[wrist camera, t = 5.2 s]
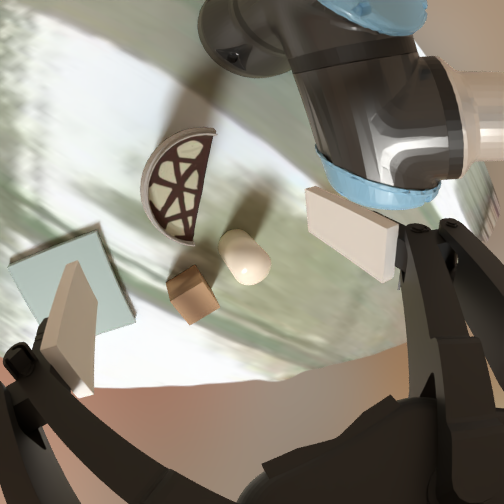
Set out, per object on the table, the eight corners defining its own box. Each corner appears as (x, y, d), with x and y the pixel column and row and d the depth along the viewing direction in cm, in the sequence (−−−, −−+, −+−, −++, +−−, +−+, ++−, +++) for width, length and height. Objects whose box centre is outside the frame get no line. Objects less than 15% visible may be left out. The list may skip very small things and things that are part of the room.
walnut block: (194, 264, 42) (202, 281, 38) (211, 288, 44) (220, 307, 40) (165, 282, 41) (170, 301, 37) (183, 305, 44) (189, 325, 40)
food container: (148, 119, 31) (153, 117, 23) (197, 126, 34) (218, 128, 26) (133, 216, 36) (134, 247, 27) (179, 220, 38) (194, 251, 30)
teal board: (97, 229, 34) (96, 232, 33) (135, 318, 42) (135, 322, 41) (9, 264, 30) (7, 267, 30) (55, 343, 38) (54, 347, 37)
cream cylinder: (248, 224, 42) (268, 243, 36) (253, 255, 45) (273, 277, 39) (214, 235, 41) (230, 256, 35) (221, 265, 43) (237, 290, 38)
